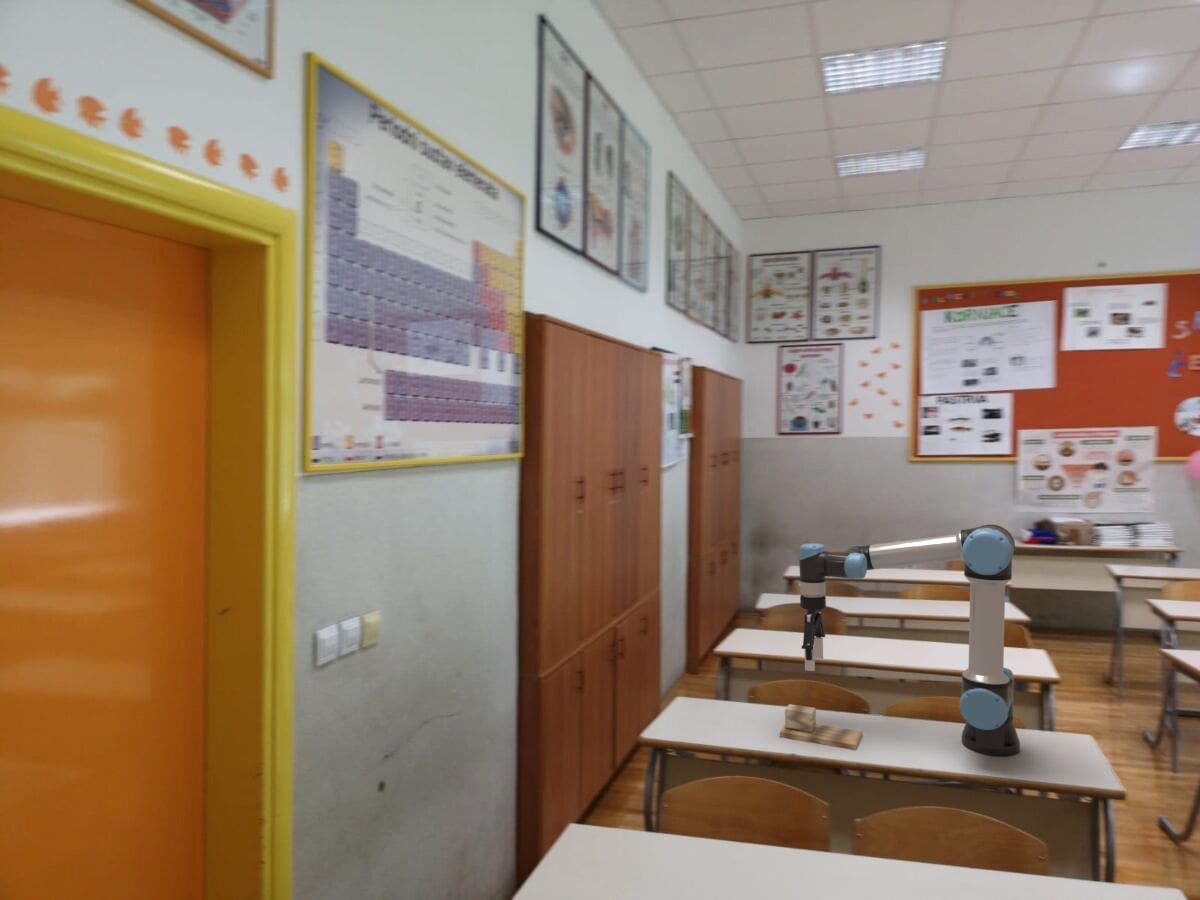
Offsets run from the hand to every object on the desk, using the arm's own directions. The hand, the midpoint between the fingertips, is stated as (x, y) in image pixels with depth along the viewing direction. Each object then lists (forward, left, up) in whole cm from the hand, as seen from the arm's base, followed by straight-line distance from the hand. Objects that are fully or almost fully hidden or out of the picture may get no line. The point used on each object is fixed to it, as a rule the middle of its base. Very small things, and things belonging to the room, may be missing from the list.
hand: (814, 664), depth 243 cm
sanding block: (+3, +5, -19) cm, 19 cm away
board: (-3, +5, -20) cm, 21 cm away
